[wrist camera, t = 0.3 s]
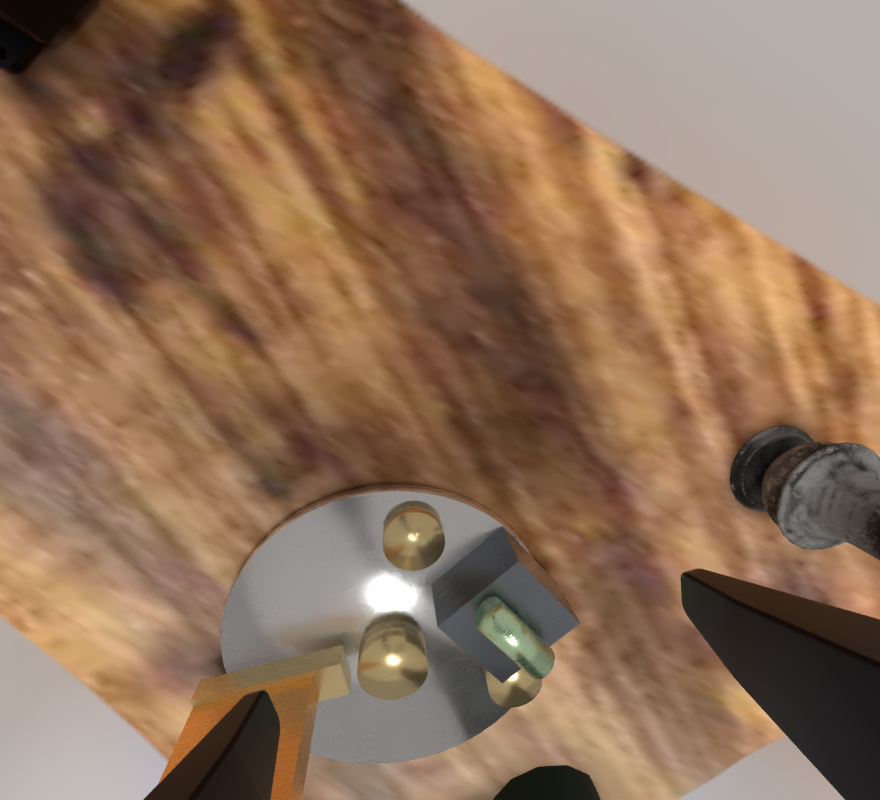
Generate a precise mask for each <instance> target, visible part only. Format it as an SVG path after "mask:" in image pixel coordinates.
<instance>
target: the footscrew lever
mask: <svg viewBox="0 0 880 800" xmlns="http://www.w3.org/2000/svg"><path fill="white" fill-rule="evenodd" d="M427 675H428V660H427V650H426V642H425V638H424V636H423V634H422V632H421V631H420V630H419V629H418V628H417V627H415V626H414V625H412V624H410V623H408V622H404V621H396V620H394V621H386V622H383V623H380V624H377V625H376V626H374V627H372V628H371V629H370V630H368V631H367V632H366V634H365V635H364V636H363V638H362V640H361V642H360V645H359V656H358V669H357V678H358V682H359V684H360V686H361V687H362V689H363V690H364V691H365V692H366V693H368V694H369V695H371V696H373V697H375V698H378V699H383V700H396V699H401V698H404V697H407V696H409V695H411V694H413V693H414V692H416V691H417V690H418V689H419V688H420V687H421V686H422V685H423V683H424V682H425V680H426V678H427ZM351 676H352V673H351V670H350V667H349V664H348V661H347V658H346V654H345V651H344V648H343V645H341V646H336V647H332V648H328V649H324V650H320V651H316V652H312V653H308V654H304V655H300V656H296V657H292V658H288V659H284V660H280V661H276V662H272V663H268V664H264V665H260V666H255V667H251V668H247V669H243V670H239V671H235V672H231V673H227V674H223V675H219V676H215V677H211V678H207V679H203V680H200V682H199V684H198V686H197V688H196V691H195V693H194V695H193V697H192V699H191V704H192V706H193V709H192V711H191V713H190V716H189V718H188V720H187V722H186V724H185V727H184V729H183V731H182V733H181V735H180V737H179V740H178V742H177V744H176V746H175V748H174V751H173V753H172V755H171V757H170V759H169V762H168V764H167V766H166V768H165V770H164V773H163V775H162V777H161V779H160V781H159V783H160V782H161V781H162V780H163V779H164V778H165V777H166V776H167V775H168V774H169V773H170V772H171V771H172V770H173V769H174V767H175V766H176V765H177V764H178V763H179V762H180V761H181V760H182V759H183V758H184V757H185V756H186V755H187V754H188V753H189V752H190V751H191V750H192V749H193V748H194V747H195V746H196V745H197V744H198V743H199V742H200V741H201V740H202V739H203V738H204V736H205V735H206V734H207V733H208V732H209V731H210V730H211V729H212V728H213V727H214V726H215V725H216V724H217V723H218V722H219V721H220V720H221V719H222V718H223V717H224V716H225V715H226V714H227V713H228V712H229V711H230V710H231V709H232V708H233V707H234V705H235V704H236V703H237V702H238V701H239V700H240V699H241V698H242V697H243V696H245V695H246V694H248V693H252V692H256V691H259V690H266V691H267V692H268V694H269V696H270V698H271V701H272V703H273V705H274V707H275V709H276V712H277V714H278V716H279V720H280V737H279V744H278V751H277V758H276V765H275V772H274V779H273V787H272V794H271V800H302V795H303V789H304V783H305V777H306V771H307V765H308V759H309V753H310V747H311V741H312V735H313V729H314V723H315V717H316V711H317V705H318V702H319V701H323V700H327V699H331V698H335V697H339V696H343V695H347V694H350V687H351Z"/></svg>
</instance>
